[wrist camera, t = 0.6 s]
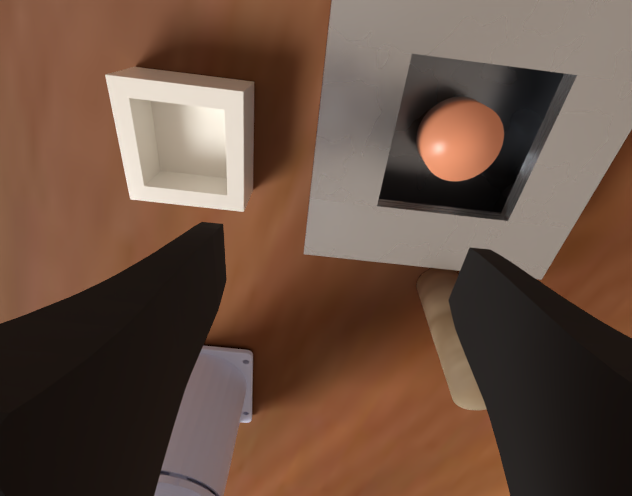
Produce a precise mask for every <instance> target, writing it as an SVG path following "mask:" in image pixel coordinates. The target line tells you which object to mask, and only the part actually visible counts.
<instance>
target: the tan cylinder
mask: <svg viewBox="0 0 632 496" xmlns="http://www.w3.org/2000/svg"><path fill="white" fill-rule="evenodd" d="M457 277H458V273H457V272H456V271H455V270H447V269H438V268H431V269H429V270H427V271H425V272H424V273H423V274H422V275H421V276H420V277H419V279H418V281H417V284H416V288H417V291H418V294H419V297H420V301H421V304H422V307H423V310H424V313H425V316H426V319H427V322H428V325H429V328H430V331H431V334H432V337H433V340H434V344H435V347H436V350H437V353H438V356H439V359H440V362H441V365H442V368H443V371H444V374H445V377H446V380H447V384H448V387H449V390H450V393H451V396H452V399H453V401H454V402H455V404H457V405H458V406H459V407H462V408H464V409H468V410H485V409H487V408H486V406H485V403H484V400H483V397H482V395H481V392H480V390H479V388H478V385H477V383H476V380H475V378H474V375H473V373H472V370H471V368H470V365H469V363H468V361H467V358H466V356H465V353H464V351H463V348H462V346H461V343H460V340H459V338H458V335H457V333H456V330H455V326H454V322H453V319H452V314H451V310H450V305H449V301H448V300H449V297H450V295H451V292H452V290H453V287H454V285H455V282H456V280H457Z"/></svg>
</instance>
